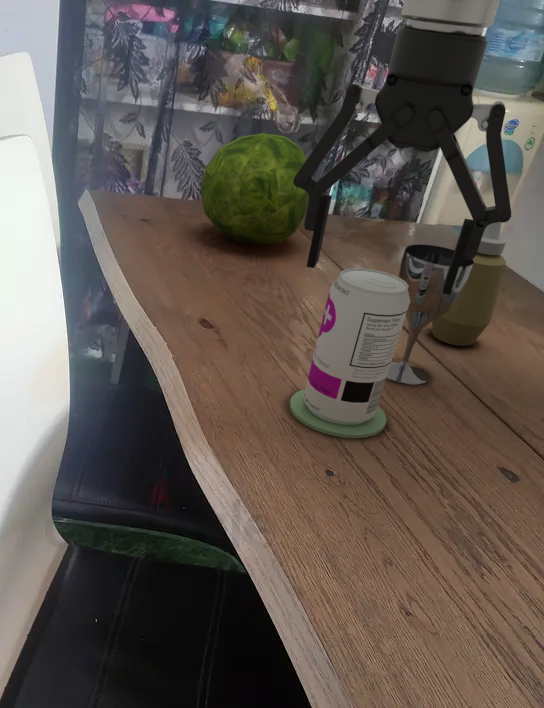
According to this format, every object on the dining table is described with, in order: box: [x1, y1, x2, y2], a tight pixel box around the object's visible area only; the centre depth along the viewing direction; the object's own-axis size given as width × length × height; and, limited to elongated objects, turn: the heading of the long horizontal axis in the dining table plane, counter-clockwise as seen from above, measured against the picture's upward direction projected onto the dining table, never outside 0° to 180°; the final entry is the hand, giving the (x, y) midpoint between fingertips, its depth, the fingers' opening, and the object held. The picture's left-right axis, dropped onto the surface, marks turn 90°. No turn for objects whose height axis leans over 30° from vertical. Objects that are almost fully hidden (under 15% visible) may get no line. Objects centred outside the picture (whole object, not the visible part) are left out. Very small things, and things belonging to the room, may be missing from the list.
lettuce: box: [199, 132, 309, 246], centre depth 131 cm, size 19×23×18 cm
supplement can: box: [304, 267, 410, 425], centre depth 79 cm, size 8×8×15 cm
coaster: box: [289, 388, 387, 439], centre depth 84 cm, size 11×11×1 cm
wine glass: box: [386, 244, 474, 385], centre depth 91 cm, size 8×8×15 cm
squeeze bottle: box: [431, 222, 507, 347], centre depth 101 cm, size 8×8×18 cm
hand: (378, 277), depth 75 cm, fingers open, 13 cm apart
